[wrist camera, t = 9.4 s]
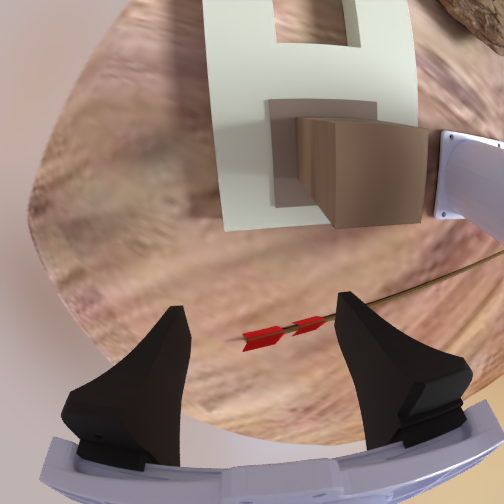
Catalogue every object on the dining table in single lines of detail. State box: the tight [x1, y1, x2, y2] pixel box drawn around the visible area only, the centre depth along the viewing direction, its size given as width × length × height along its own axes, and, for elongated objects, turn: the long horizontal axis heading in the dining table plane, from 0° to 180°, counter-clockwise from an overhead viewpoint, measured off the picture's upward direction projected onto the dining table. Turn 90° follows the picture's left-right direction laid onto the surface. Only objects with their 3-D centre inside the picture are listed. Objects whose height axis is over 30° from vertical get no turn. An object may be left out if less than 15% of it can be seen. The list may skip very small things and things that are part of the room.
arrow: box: [242, 250, 504, 352], centre depth 26 cm, size 2×35×2 cm
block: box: [295, 117, 428, 229], centre depth 13 cm, size 4×4×8 cm
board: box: [203, 0, 418, 232], centre depth 16 cm, size 14×20×3 cm
